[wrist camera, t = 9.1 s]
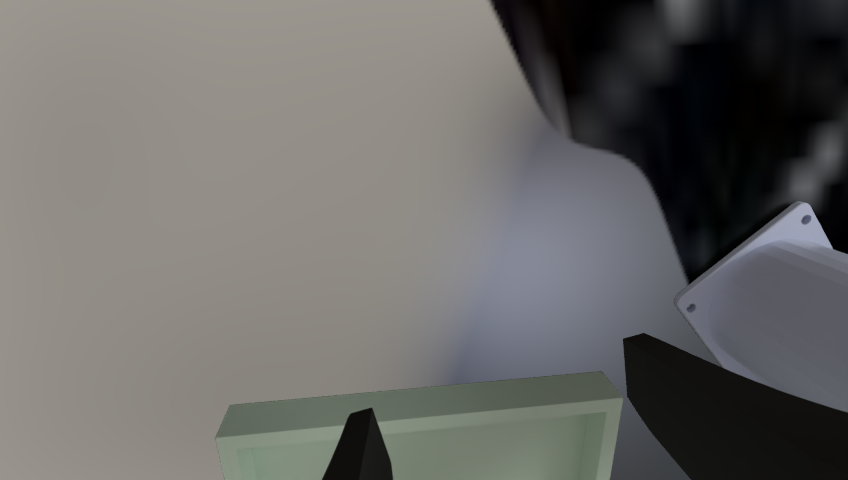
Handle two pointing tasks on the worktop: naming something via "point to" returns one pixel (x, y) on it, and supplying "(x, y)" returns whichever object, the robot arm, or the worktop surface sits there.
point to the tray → (438, 431)
